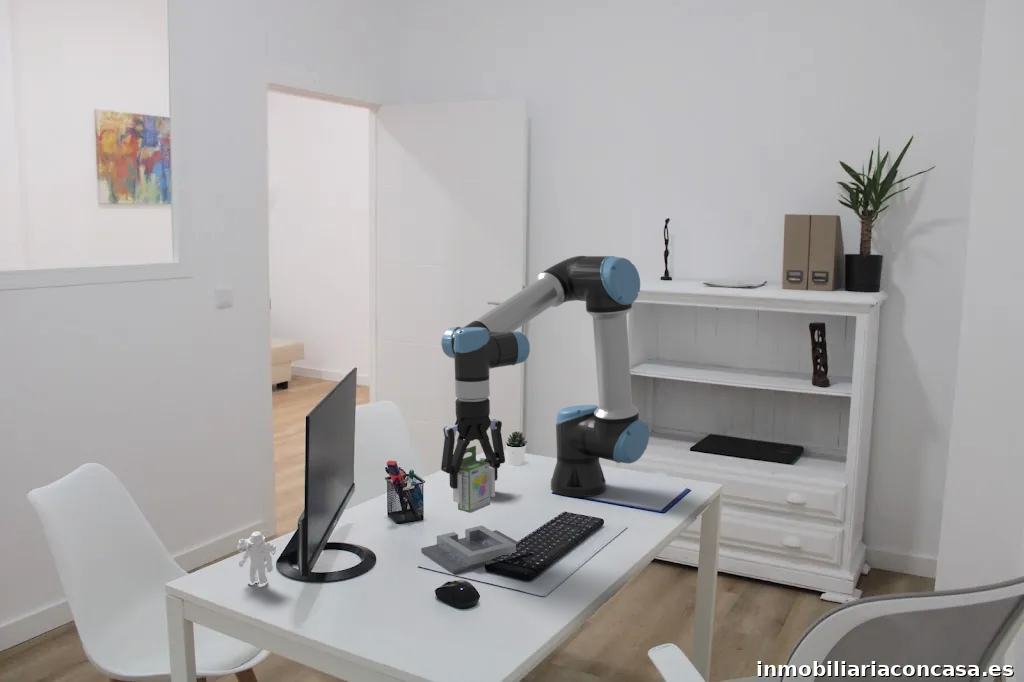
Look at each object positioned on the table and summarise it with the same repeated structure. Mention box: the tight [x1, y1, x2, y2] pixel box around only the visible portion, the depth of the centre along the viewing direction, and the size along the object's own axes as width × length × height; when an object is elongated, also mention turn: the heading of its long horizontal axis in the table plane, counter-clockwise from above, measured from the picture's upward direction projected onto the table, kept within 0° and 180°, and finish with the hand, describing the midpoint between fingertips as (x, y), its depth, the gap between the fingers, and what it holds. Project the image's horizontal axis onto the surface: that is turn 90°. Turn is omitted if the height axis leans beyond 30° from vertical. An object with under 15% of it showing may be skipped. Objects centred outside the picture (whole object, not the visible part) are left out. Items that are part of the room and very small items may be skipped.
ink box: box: [457, 445, 491, 514], centre depth 197 cm, size 7×4×13 cm, turn 144°
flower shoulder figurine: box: [236, 528, 277, 584], centre depth 184 cm, size 9×4×12 cm, turn 69°
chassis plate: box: [420, 525, 520, 575], centre depth 200 cm, size 20×15×3 cm
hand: (474, 498), depth 198 cm, fingers closed on ink box, 8 cm apart
